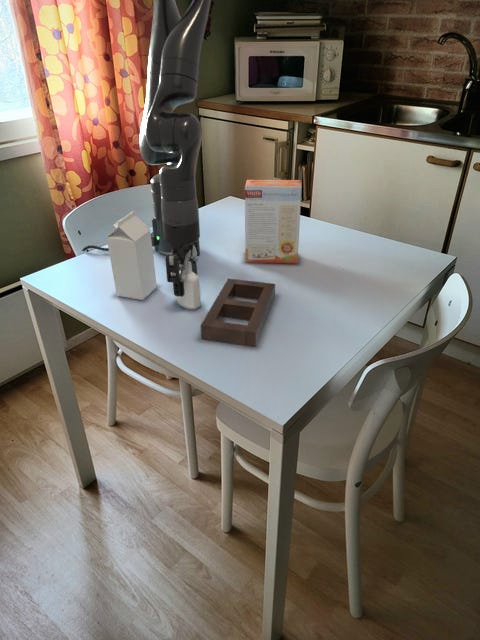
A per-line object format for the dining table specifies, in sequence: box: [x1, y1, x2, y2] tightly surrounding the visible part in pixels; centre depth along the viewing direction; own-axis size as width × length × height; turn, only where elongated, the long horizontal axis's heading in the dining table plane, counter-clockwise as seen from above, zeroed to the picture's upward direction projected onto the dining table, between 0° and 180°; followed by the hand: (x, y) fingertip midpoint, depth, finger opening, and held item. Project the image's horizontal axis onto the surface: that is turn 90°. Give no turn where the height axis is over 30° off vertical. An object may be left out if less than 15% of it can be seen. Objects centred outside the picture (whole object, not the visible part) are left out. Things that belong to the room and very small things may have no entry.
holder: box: [200, 278, 276, 348], centre depth 105 cm, size 11×21×4 cm, turn 166°
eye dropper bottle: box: [176, 261, 202, 310], centre depth 107 cm, size 4×6×12 cm
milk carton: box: [106, 210, 158, 301], centre depth 111 cm, size 7×7×19 cm
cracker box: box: [244, 179, 303, 265], centre depth 124 cm, size 14×6×21 cm, turn 84°
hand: (186, 286), depth 108 cm, fingers open, 8 cm apart
